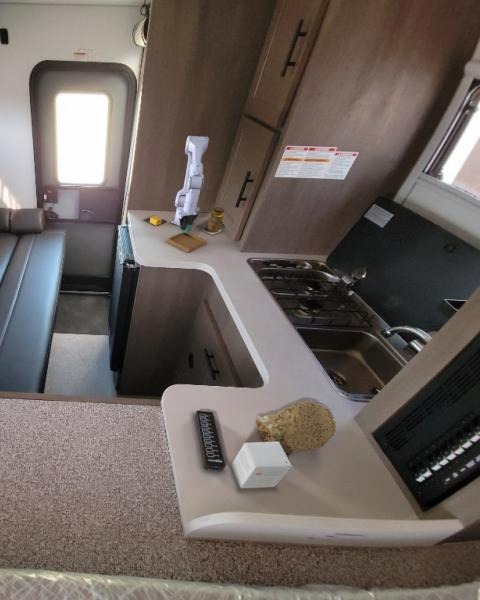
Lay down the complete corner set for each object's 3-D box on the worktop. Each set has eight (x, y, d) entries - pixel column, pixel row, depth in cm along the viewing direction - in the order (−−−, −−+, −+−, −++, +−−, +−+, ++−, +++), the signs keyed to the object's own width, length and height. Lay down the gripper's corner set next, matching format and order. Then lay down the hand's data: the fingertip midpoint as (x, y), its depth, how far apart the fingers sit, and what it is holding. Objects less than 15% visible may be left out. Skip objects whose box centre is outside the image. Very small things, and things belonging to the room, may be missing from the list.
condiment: (222, 230, 176) (228, 209, 168) (212, 235, 172) (218, 213, 165) (210, 226, 181) (216, 205, 173) (201, 230, 177) (206, 208, 169)
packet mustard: (154, 220, 184) (155, 215, 183) (161, 223, 181) (162, 218, 179) (149, 222, 183) (150, 217, 181) (156, 225, 179) (156, 220, 178)
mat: (154, 216, 190) (154, 215, 190) (166, 221, 184) (166, 221, 184) (143, 220, 185) (143, 219, 185) (155, 226, 180) (155, 225, 180)
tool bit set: (211, 416, 88) (213, 411, 87) (223, 471, 77) (225, 467, 76) (194, 415, 89) (196, 410, 87) (203, 469, 77) (206, 464, 76)
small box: (262, 463, 79) (279, 440, 72) (274, 488, 74) (293, 466, 68) (230, 464, 78) (244, 441, 72) (239, 489, 74) (255, 467, 67)
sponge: (271, 464, 80) (356, 451, 78) (273, 443, 76) (362, 428, 75) (245, 422, 91) (319, 409, 90) (246, 401, 88) (322, 388, 86)
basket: (184, 234, 172) (185, 231, 171) (205, 243, 164) (206, 240, 163) (166, 242, 165) (167, 238, 164) (188, 252, 157) (189, 249, 156)
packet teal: (183, 227, 167) (184, 222, 165) (191, 231, 164) (192, 225, 162) (178, 229, 165) (179, 224, 163) (186, 233, 162) (187, 227, 160)
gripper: (188, 208, 149) (182, 235, 158) (207, 201, 156) (200, 227, 165) (176, 203, 154) (171, 230, 162) (195, 196, 161) (189, 222, 169)
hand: (185, 228), depth 164 cm, fingers closed on packet teal, 4 cm apart
